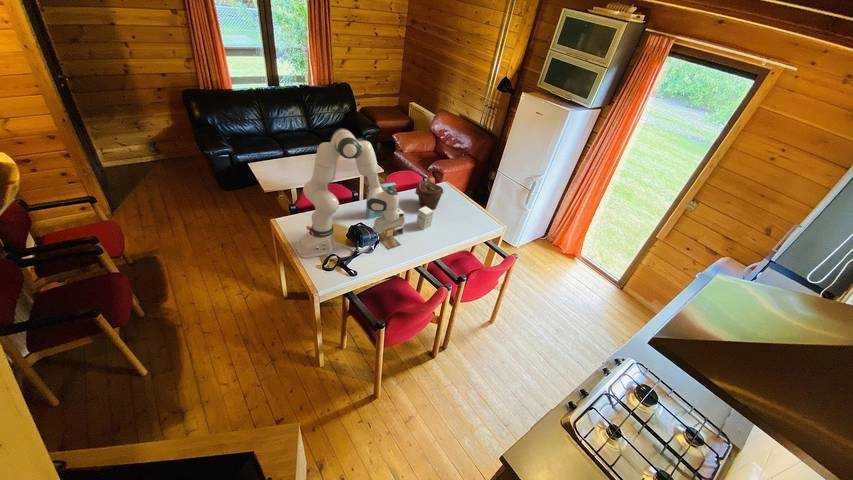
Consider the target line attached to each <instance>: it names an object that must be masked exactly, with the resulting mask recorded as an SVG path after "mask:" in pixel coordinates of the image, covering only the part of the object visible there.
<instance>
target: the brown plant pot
mask: <svg viewBox="0 0 853 480" xmlns="http://www.w3.org/2000/svg"><path fill="white" fill-rule="evenodd" d="M414 193H415V195H417V197H418V205H419V207H420V209H421V208H423V207H425V206H426V207H428V208H429V209H431V210H433V211H434V210H436V209H437V206H438V204H439V202H440V199H441V197H442V195H443V194H444V188H443V187H442V186H440V185H437V183H434V182H433V181H429V180H422V181H420V182H418V184H417V185H416V189H415V192H414Z"/></svg>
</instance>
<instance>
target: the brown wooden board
mask: <svg viewBox="0 0 853 480" xmlns="http://www.w3.org/2000/svg"><path fill="white" fill-rule="evenodd" d="M377 234H378V236H379V239H378V240H379V241H380V242H381V243H382V244H383V245H384V246H385V248H386V249H387V250H390V249H395V248H396V247H400V246H401V245H402V244H401V243H400V242H399V241H398V240H397V239H396V238H395V236H393V235H391V236H388V237H387V236H386V235H384V234H383V232H382V231H381V232H377Z"/></svg>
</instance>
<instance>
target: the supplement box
mask: <svg viewBox="0 0 853 480" xmlns="http://www.w3.org/2000/svg"><path fill="white" fill-rule="evenodd" d="M433 215H434V210H431V209H429V208H428V207H426V206H425V207H423V208H421V207H420V208H419V209H418V211H417V216H416V217H417V218H416V224H415V225H416V226H417V227H420V228H421V229H422V230H426V229H427V228H430V227H432V221H433Z"/></svg>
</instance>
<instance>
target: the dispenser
mask: <svg viewBox="0 0 853 480" xmlns="http://www.w3.org/2000/svg"><path fill="white" fill-rule="evenodd" d="M391 229H392V228H391ZM397 231H398V232H399V233H400V234H401V235H403V234H404V226H403V224H402V225H398V226H396V228H395V230H394V232H393V235H392V236H393V237H396V236H397V235H396V234H397Z"/></svg>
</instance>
